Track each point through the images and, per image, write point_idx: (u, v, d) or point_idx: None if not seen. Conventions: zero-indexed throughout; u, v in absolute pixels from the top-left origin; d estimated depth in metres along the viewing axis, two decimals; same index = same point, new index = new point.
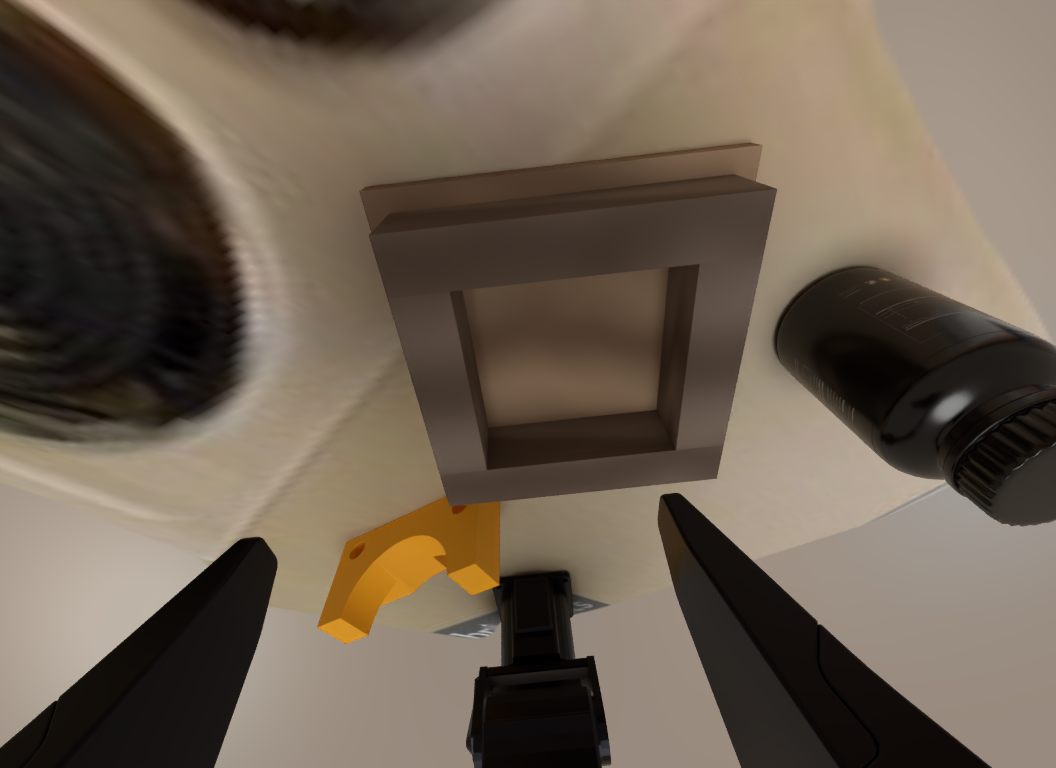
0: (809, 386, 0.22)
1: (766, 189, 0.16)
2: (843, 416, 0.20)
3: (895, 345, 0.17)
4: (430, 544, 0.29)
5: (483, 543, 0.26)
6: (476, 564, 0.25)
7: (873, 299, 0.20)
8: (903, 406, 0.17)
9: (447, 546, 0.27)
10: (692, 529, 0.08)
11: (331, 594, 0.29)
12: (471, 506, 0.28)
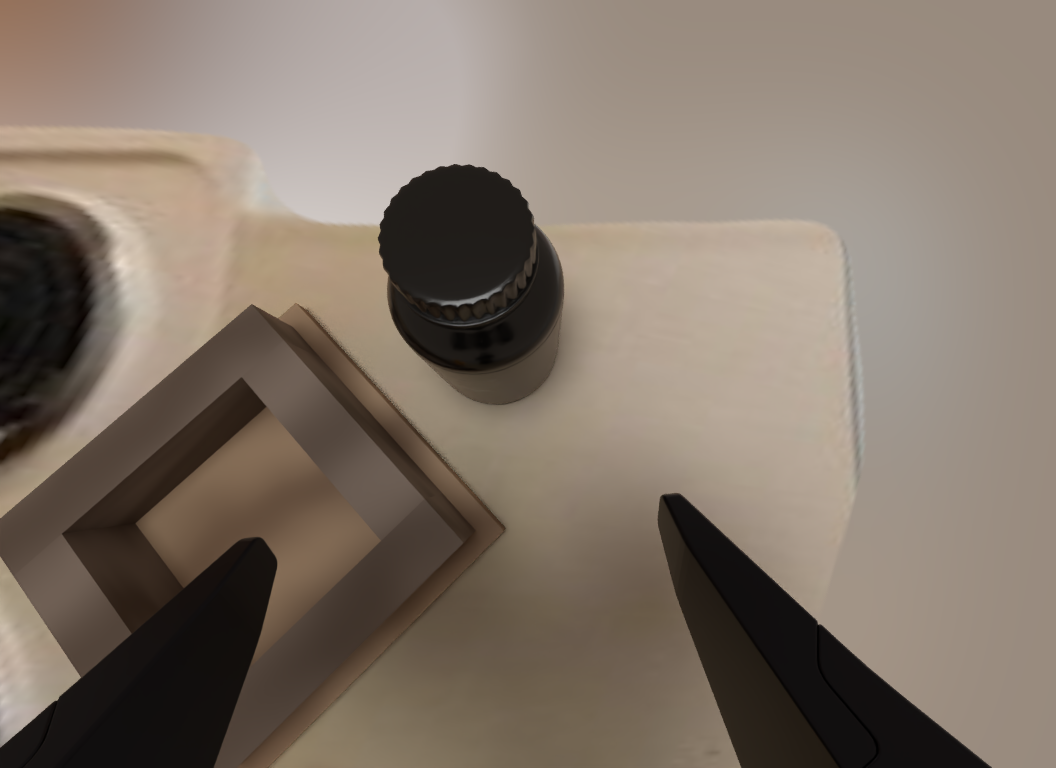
0: (466, 391, 0.21)
1: (248, 309, 0.21)
2: (453, 379, 0.18)
3: None
4: None
5: None
6: None
7: None
8: (394, 321, 0.16)
9: None
10: (692, 529, 0.08)
11: None
12: None
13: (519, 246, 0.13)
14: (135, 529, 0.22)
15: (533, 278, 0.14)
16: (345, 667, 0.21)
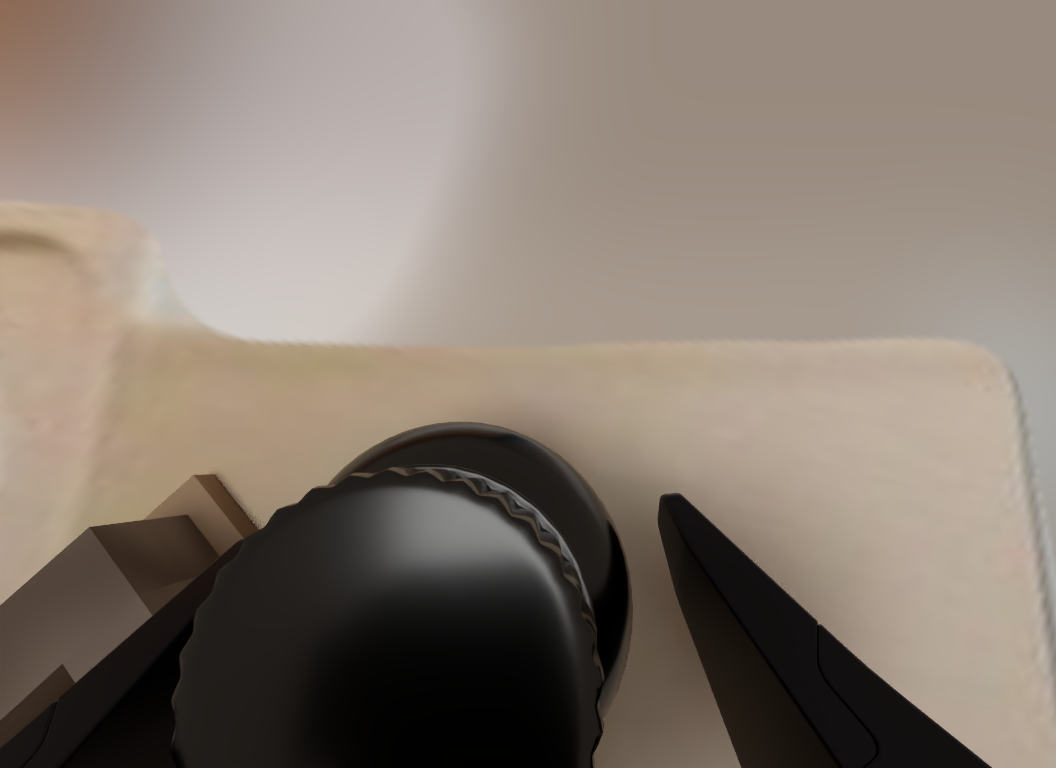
0: None
1: (84, 534, 0.12)
2: None
3: None
4: None
5: None
6: None
7: None
8: None
9: None
10: (692, 529, 0.08)
11: None
12: None
13: (562, 749, 0.04)
14: None
15: None
16: None
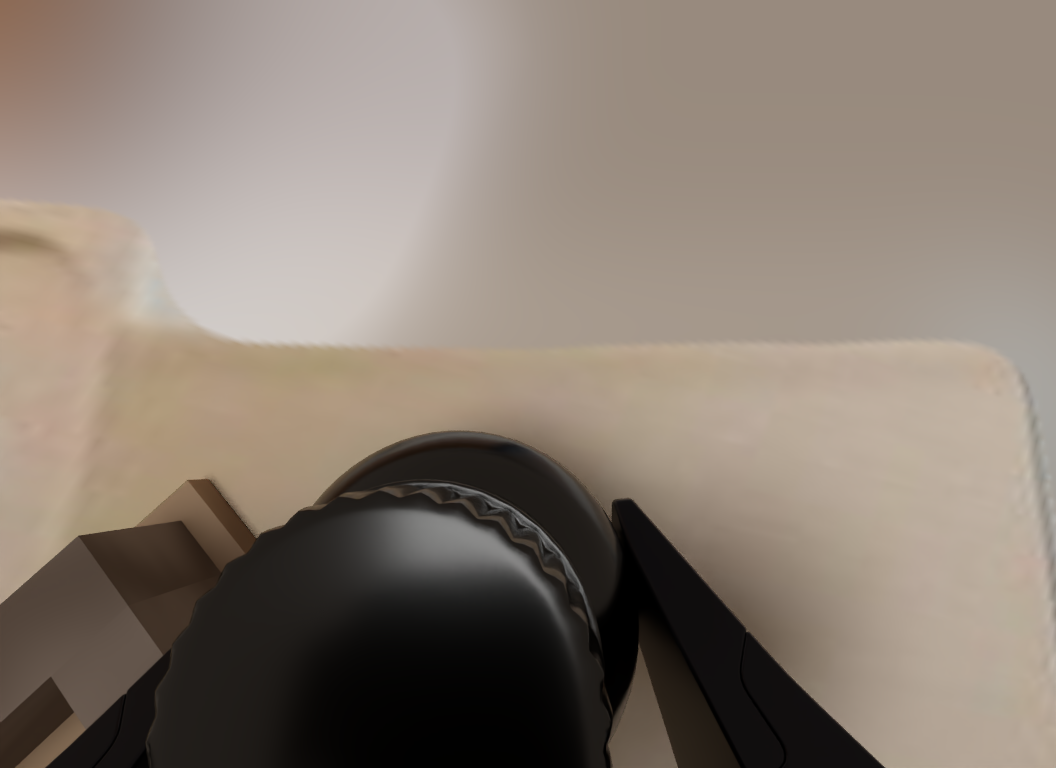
0: None
1: None
2: None
3: None
4: None
5: None
6: None
7: None
8: None
9: None
10: (637, 535, 0.08)
11: None
12: None
13: None
14: None
15: None
16: None
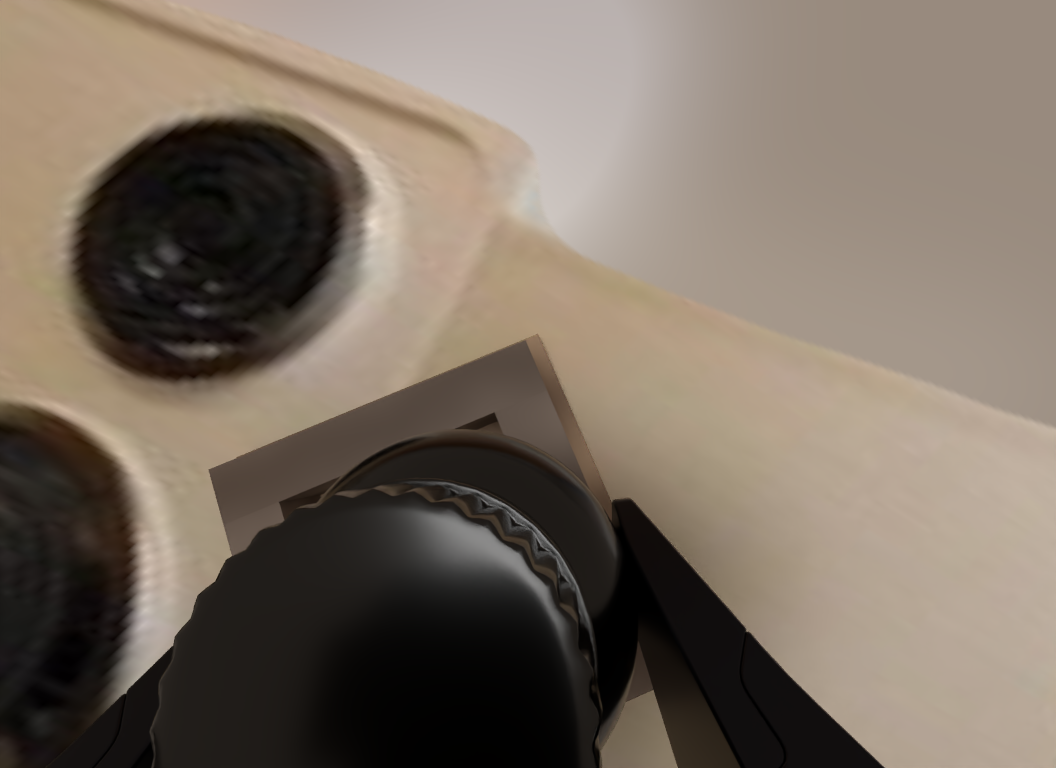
0: None
1: (519, 343, 0.20)
2: None
3: None
4: None
5: None
6: None
7: None
8: None
9: None
10: (637, 535, 0.08)
11: None
12: None
13: None
14: None
15: None
16: None
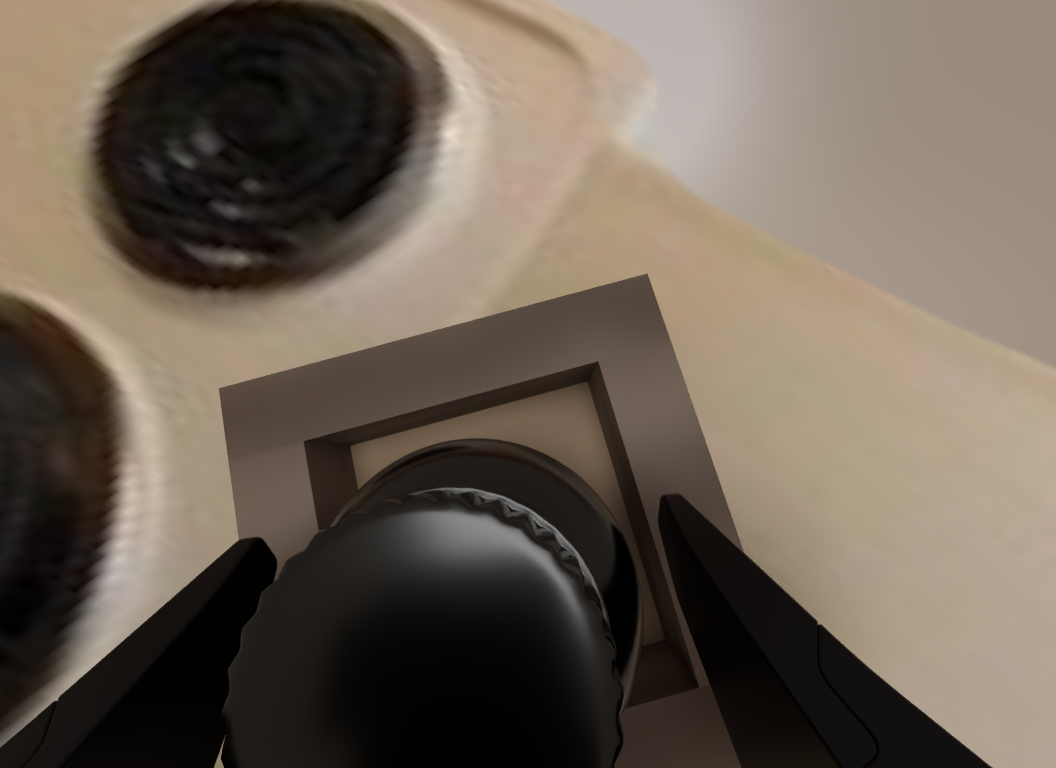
0: None
1: (637, 277, 0.15)
2: None
3: None
4: None
5: None
6: None
7: None
8: None
9: None
10: (692, 529, 0.08)
11: None
12: None
13: (586, 758, 0.05)
14: (349, 455, 0.17)
15: None
16: None
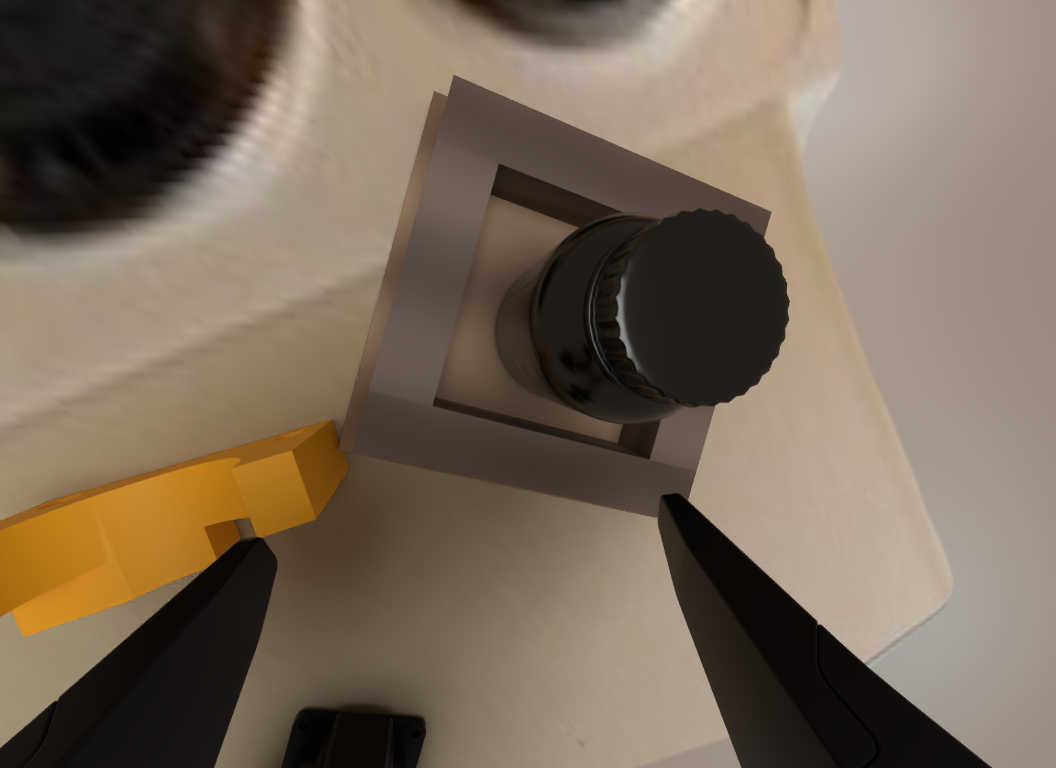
0: (524, 381, 0.18)
1: None
2: (538, 383, 0.16)
3: (534, 271, 0.15)
4: (212, 490, 0.18)
5: (312, 457, 0.17)
6: (293, 455, 0.15)
7: None
8: (538, 312, 0.13)
9: (247, 456, 0.16)
10: (692, 529, 0.08)
11: None
12: (309, 430, 0.19)
13: (755, 367, 0.11)
14: None
15: None
16: None
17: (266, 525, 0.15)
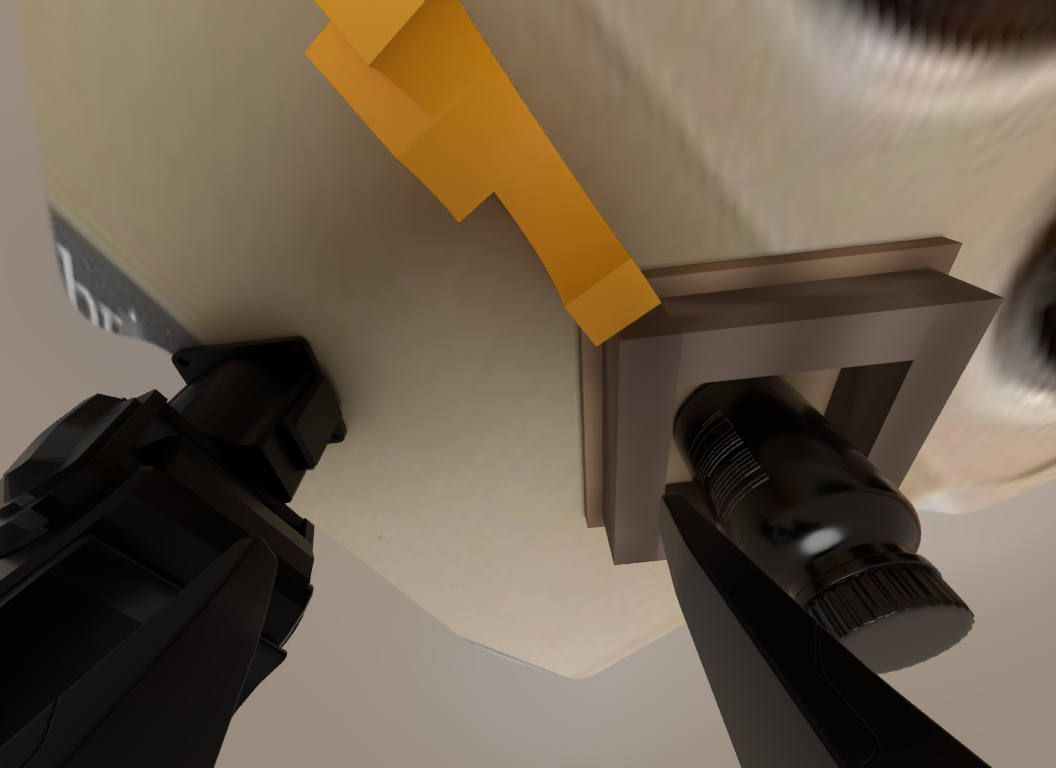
0: (711, 440, 0.20)
1: None
2: (739, 480, 0.18)
3: (843, 454, 0.17)
4: (539, 187, 0.16)
5: None
6: (656, 305, 0.14)
7: (820, 415, 0.20)
8: (836, 501, 0.15)
9: (613, 233, 0.15)
10: (692, 529, 0.08)
11: None
12: None
13: None
14: None
15: None
16: (597, 410, 0.23)
17: (579, 309, 0.14)
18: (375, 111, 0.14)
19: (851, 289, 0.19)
